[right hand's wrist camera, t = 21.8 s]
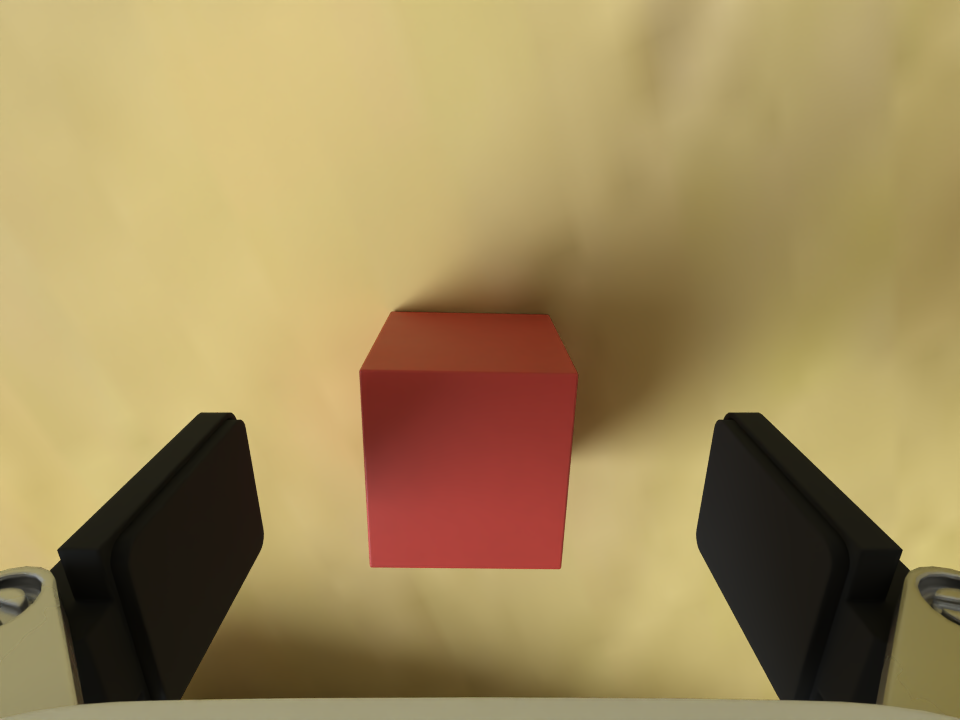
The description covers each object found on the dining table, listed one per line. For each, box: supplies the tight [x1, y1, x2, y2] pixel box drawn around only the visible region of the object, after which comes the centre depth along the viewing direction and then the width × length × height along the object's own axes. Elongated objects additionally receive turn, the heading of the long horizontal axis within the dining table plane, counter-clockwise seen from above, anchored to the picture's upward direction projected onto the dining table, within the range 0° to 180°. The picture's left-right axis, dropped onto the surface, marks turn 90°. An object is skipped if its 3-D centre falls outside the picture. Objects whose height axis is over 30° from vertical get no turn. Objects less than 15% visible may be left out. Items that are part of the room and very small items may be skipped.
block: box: [359, 312, 578, 569], centre depth 14 cm, size 5×4×5 cm
